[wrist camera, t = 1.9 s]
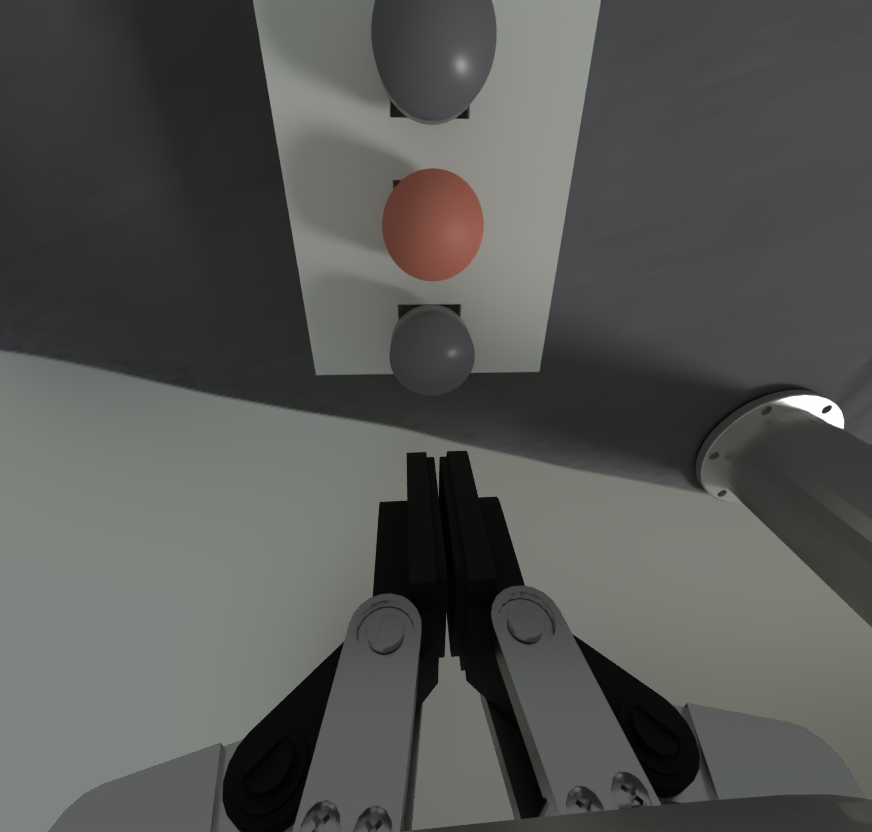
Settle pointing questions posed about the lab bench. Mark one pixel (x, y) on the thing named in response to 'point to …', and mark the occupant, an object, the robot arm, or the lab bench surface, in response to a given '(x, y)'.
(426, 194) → the red knob
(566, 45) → the control box
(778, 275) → the lab bench surface
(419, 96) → the grey knob
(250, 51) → the lab bench surface
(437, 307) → the grey knob
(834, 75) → the lab bench surface
